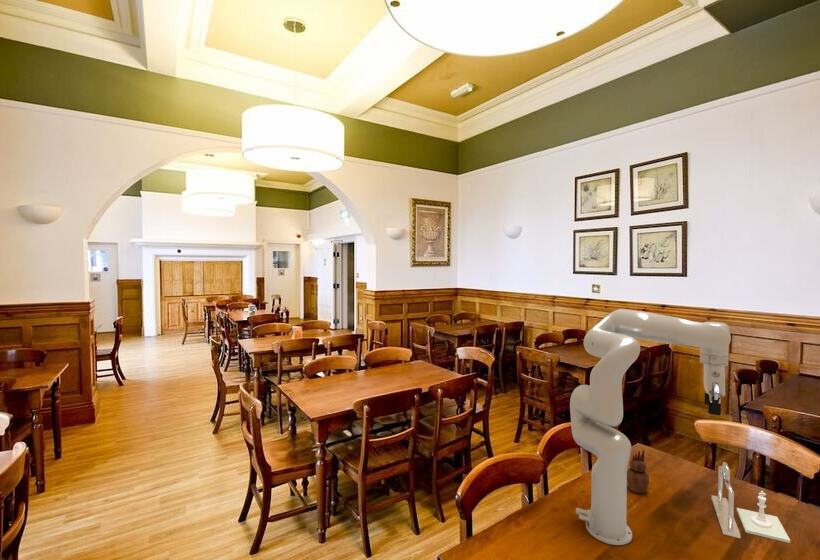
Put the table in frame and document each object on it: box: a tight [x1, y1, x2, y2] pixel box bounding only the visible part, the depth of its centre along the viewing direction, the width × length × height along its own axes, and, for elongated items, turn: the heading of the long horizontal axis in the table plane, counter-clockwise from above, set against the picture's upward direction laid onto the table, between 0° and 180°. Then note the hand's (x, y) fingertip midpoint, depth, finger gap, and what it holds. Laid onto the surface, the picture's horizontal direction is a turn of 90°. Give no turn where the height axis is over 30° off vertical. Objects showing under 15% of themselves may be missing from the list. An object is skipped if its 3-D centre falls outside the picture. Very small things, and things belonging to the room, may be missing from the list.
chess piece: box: [751, 490, 772, 528], centre depth 123 cm, size 5×5×10 cm
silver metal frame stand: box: [711, 461, 741, 539], centre depth 127 cm, size 4×20×17 cm, turn 151°
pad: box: [736, 507, 791, 544], centre depth 123 cm, size 10×12×1 cm
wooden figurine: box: [627, 449, 650, 494], centre depth 142 cm, size 7×6×15 cm
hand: (712, 409), depth 136 cm, fingers open, 9 cm apart
